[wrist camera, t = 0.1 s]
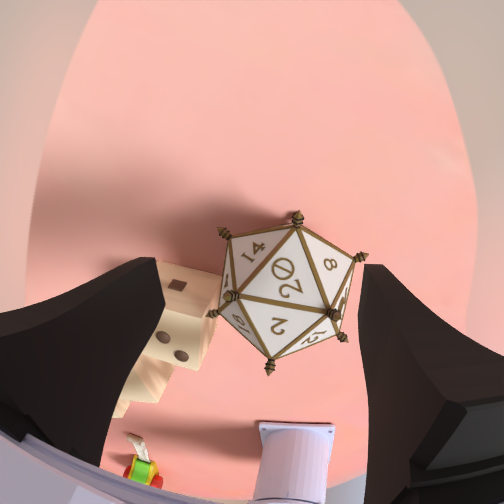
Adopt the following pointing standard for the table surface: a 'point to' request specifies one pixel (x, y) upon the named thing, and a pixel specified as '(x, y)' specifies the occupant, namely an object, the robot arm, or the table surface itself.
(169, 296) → the pip block
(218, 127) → the table surface
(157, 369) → the plain block
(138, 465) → the toy measuring tape
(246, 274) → the game die
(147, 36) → the table surface
